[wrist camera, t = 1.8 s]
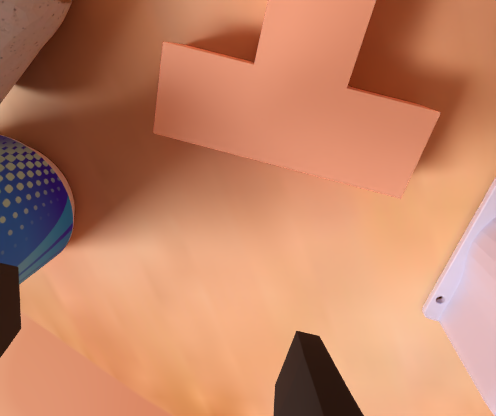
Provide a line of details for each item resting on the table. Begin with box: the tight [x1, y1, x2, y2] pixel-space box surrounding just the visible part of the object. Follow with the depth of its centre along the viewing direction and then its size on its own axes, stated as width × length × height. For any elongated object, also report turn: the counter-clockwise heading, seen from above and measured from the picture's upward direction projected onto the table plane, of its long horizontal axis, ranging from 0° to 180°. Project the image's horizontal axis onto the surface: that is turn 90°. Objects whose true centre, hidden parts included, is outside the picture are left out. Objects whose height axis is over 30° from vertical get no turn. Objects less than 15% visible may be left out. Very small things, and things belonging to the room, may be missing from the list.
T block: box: [153, 0, 441, 199], centre depth 15 cm, size 11×12×3 cm
